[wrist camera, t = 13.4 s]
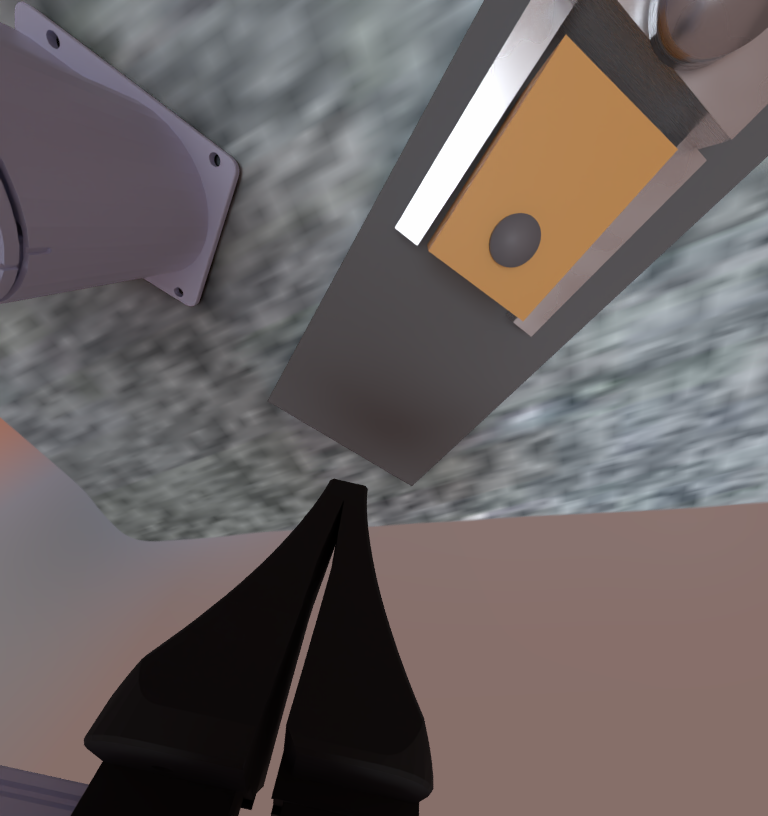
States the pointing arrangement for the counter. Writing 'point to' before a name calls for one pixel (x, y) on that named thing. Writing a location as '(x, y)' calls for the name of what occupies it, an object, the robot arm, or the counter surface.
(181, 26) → the counter surface
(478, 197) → the block
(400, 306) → the mat
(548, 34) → the sliding latch
